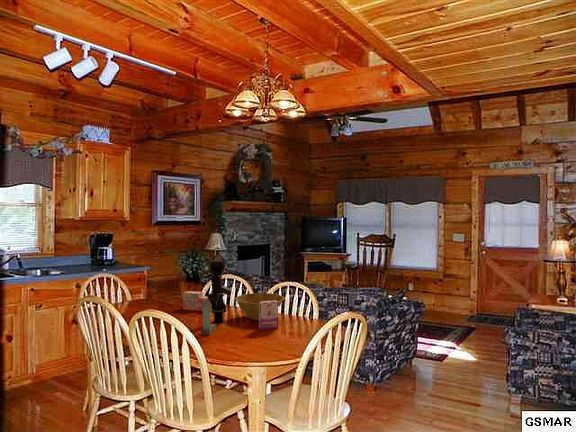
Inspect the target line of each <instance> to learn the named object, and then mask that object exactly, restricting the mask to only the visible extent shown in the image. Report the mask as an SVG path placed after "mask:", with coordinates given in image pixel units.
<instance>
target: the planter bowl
mask: <svg viewBox="0 0 576 432" xmlns="http://www.w3.org/2000/svg"><path fill="white" fill-rule="evenodd" d="M234 300H235V301H236V302H237V305H238V306H239V308H241V309H242V310H243V313H244V314H245V316H246V317H247V318H248V319H250V320H253V321H259V302H260V301H275V300H276V301H277V302H278V308H279V307H281V306H282V303H283V301H284V300H285V297H284V296H283V295H282V294H277V293H270V292H269V293H268V292H253V293H245V294H240V295H238V296H236V297H235V299H234Z"/></svg>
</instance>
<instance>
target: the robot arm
mask: <svg viewBox="0 0 576 432" xmlns="http://www.w3.org/2000/svg"><path fill="white" fill-rule="evenodd" d="M209 265H210V267H209V274H212V275H211V278H210V282H211V284H210V285H211V288H212V289H211V291H210V292H209V293H208V294H207V295H206V296H207V299H208V300H209V301H210V303H211V305H212V311H211V314H213V321H211V324H223V323H224V322H225V319H224V313H226V312H227V305H226V303H225V300H224V298H223V297H224V296H229V295H230V294H231V292H232V287H231V285H229V284H228V285H224V283H223V274H224V272H225V269H226V266H227V265H226V259H225V258H224V257H223V255H222V254H221V255H219V254H216V255H214V257H213V259H212V261H211V262H210V264H209Z"/></svg>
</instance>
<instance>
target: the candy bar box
mask: <svg viewBox="0 0 576 432" xmlns="http://www.w3.org/2000/svg"><path fill="white" fill-rule="evenodd" d="M258 328H259V330H261V331H264V330H265V331H266V330H276V329H279V307H278V302H277V301H276V300H275V301H260V302H259V320H258Z"/></svg>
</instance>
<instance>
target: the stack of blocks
mask: <svg viewBox="0 0 576 432" xmlns="http://www.w3.org/2000/svg"><path fill="white" fill-rule="evenodd" d="M182 294H183V295H182V299H183V300H182V304H183V305H182V307H183V309H182V310H186V311H199V312H203V307H204V306H210V312H212V305H211V303H210V301H209V300H208V299H207V295H205V296H204V295H203V291H193V290H192V291H190V290H187V291H184V292H183V293H182Z"/></svg>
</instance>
